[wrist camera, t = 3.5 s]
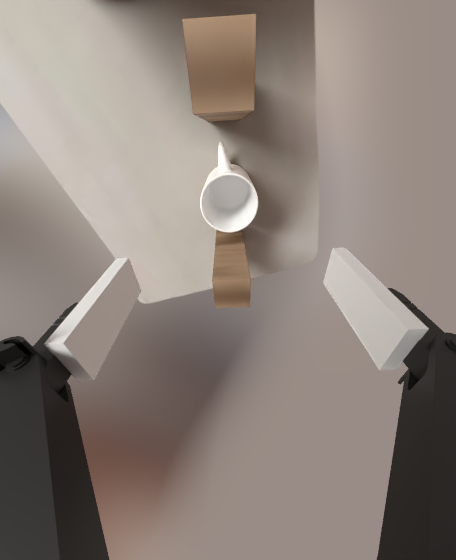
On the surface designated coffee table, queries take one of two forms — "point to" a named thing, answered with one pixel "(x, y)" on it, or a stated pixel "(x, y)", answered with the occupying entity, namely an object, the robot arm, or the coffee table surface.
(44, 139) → the coffee table surface
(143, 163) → the coffee table surface
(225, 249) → the post far
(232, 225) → the mug
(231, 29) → the post near
